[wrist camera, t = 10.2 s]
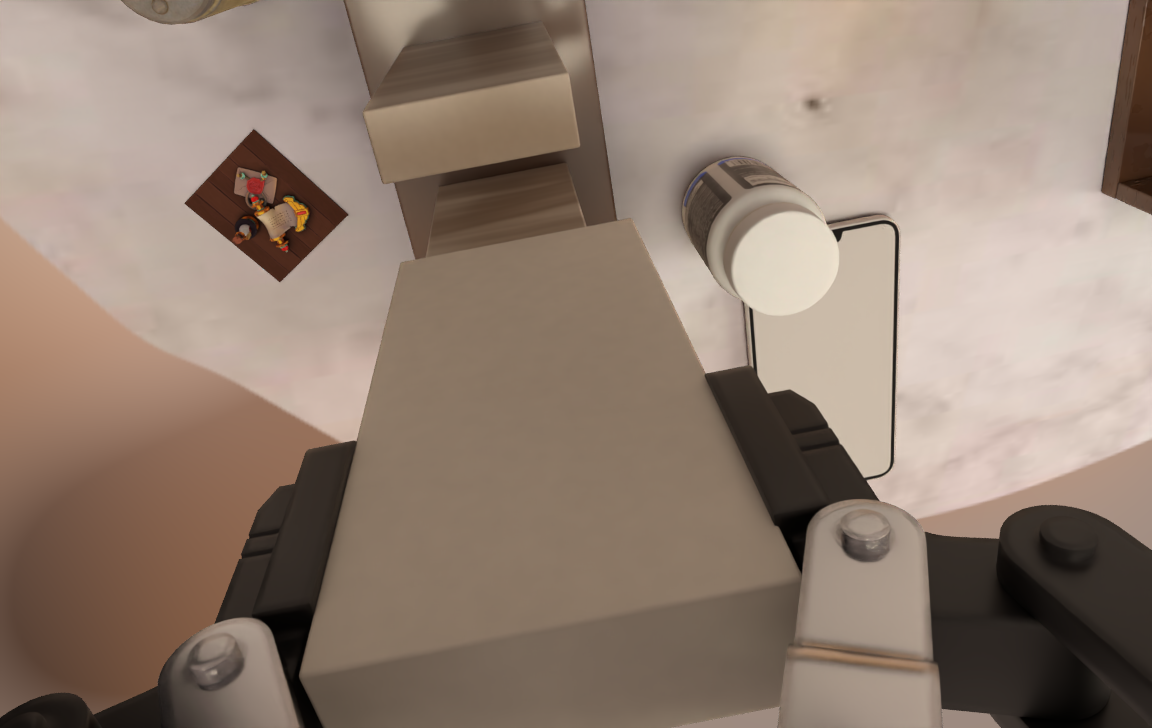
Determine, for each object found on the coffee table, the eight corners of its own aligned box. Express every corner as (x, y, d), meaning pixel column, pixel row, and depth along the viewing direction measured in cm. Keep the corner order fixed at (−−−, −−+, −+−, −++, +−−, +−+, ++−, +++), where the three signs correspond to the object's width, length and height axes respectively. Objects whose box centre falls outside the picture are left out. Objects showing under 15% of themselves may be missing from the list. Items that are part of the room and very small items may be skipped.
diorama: (276, 261, 37) (265, 280, 35) (205, 202, 35) (189, 218, 33) (321, 217, 36) (311, 233, 34) (250, 154, 34) (237, 168, 33)
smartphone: (761, 502, 45) (741, 245, 38) (757, 494, 45) (737, 240, 38) (895, 475, 45) (902, 214, 38) (890, 468, 45) (896, 209, 38)
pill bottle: (716, 277, 39) (761, 350, 31) (660, 197, 37) (695, 254, 29) (804, 217, 38) (873, 278, 30) (751, 131, 36) (811, 174, 28)
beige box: (399, 261, 19) (295, 677, 9) (631, 217, 19) (804, 578, 9) (421, 337, 20) (351, 792, 10) (642, 294, 20) (810, 702, 10)
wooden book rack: (324, -84, 31) (227, -83, 19) (563, -129, 31) (608, -155, 19) (441, 341, 39) (422, 515, 28) (627, 306, 39) (684, 464, 28)
